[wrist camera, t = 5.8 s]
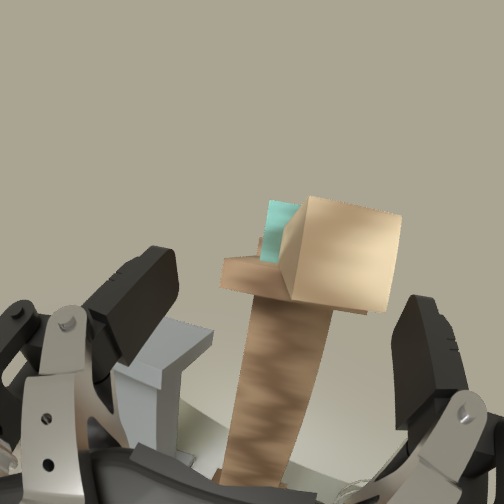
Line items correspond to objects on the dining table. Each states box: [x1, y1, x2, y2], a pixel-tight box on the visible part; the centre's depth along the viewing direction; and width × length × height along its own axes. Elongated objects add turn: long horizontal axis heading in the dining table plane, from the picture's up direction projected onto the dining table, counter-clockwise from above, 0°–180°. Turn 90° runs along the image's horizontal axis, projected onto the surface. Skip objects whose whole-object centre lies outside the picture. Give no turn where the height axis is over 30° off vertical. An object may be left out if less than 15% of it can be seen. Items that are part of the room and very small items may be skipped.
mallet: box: [260, 196, 402, 313], centre depth 18 cm, size 6×21×5 cm, turn 177°
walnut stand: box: [211, 237, 367, 489], centre depth 25 cm, size 10×13×34 cm
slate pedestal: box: [113, 316, 214, 467], centre depth 28 cm, size 10×13×22 cm
